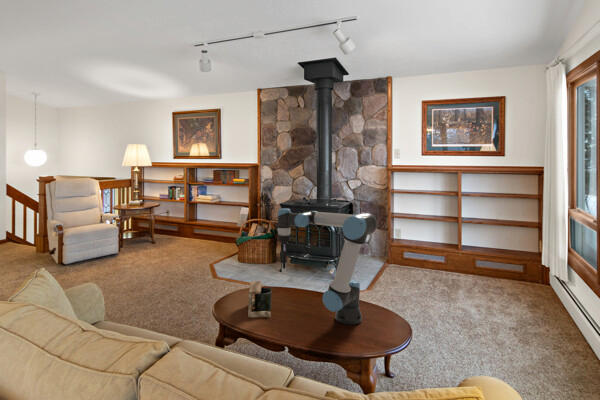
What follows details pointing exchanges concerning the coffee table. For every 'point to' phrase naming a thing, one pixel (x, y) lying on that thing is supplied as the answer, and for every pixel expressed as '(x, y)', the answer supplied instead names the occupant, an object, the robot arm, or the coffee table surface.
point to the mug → (263, 300)
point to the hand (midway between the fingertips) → (284, 273)
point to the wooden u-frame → (254, 289)
